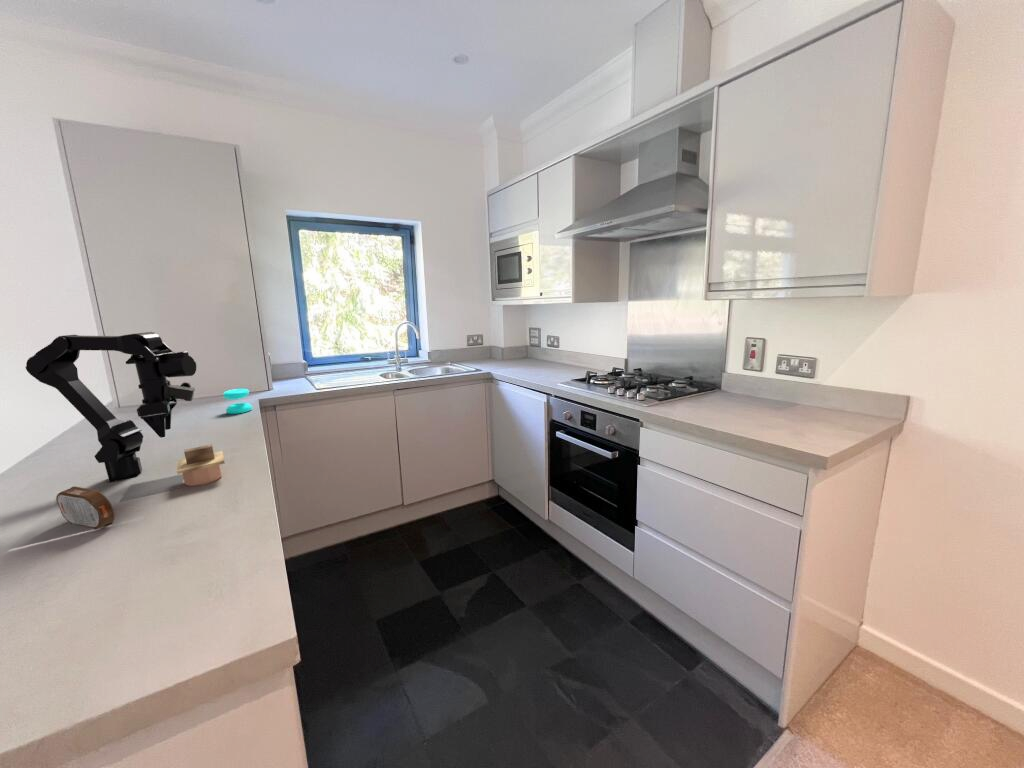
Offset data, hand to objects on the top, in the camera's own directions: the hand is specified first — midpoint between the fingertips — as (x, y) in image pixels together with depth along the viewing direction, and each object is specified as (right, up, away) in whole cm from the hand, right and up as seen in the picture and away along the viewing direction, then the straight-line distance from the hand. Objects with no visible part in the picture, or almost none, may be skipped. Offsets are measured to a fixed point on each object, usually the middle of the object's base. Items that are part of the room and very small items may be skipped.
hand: (165, 433), depth 119 cm
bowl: (+14, -12, -5) cm, 19 cm away
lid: (+14, -8, -5) cm, 17 cm away
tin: (+4, -18, -25) cm, 31 cm away
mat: (+3, -14, -8) cm, 16 cm away
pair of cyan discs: (-26, +1, +73) cm, 78 cm away
